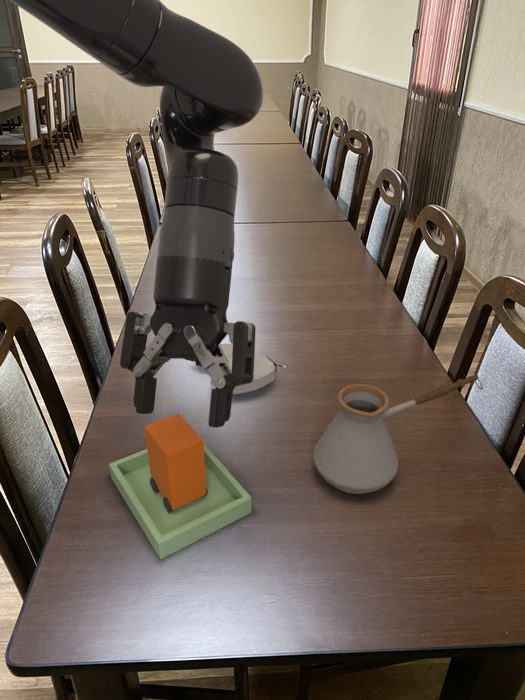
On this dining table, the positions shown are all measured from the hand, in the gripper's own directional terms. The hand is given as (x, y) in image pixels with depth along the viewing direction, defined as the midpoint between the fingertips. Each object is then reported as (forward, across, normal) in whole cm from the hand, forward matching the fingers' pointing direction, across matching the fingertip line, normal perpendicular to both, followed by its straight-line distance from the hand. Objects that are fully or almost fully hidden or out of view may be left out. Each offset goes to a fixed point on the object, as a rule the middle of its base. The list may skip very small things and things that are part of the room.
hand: (179, 419), depth 54 cm
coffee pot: (+8, +16, +30) cm, 35 cm away
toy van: (+12, -8, +14) cm, 20 cm away
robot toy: (-2, -13, +38) cm, 40 cm away
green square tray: (+12, -8, +14) cm, 20 cm away
